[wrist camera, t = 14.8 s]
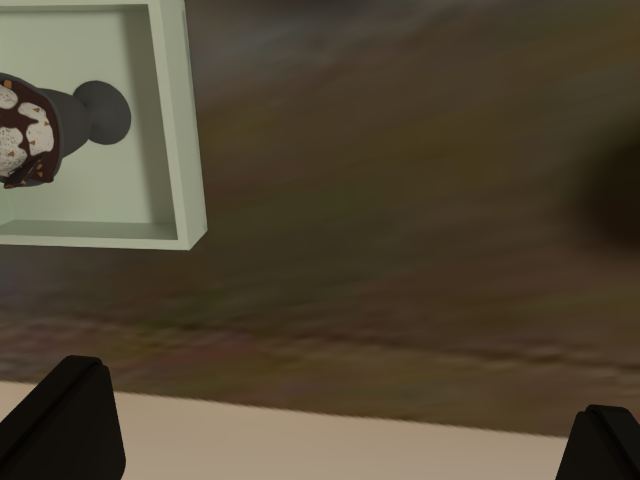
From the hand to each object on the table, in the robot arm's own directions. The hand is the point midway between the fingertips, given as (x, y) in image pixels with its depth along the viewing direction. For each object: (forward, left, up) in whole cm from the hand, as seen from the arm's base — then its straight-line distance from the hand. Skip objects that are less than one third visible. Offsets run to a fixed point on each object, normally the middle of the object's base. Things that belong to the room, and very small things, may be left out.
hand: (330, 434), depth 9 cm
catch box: (-2, -22, -29) cm, 36 cm away
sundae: (-3, -20, -29) cm, 35 cm away
